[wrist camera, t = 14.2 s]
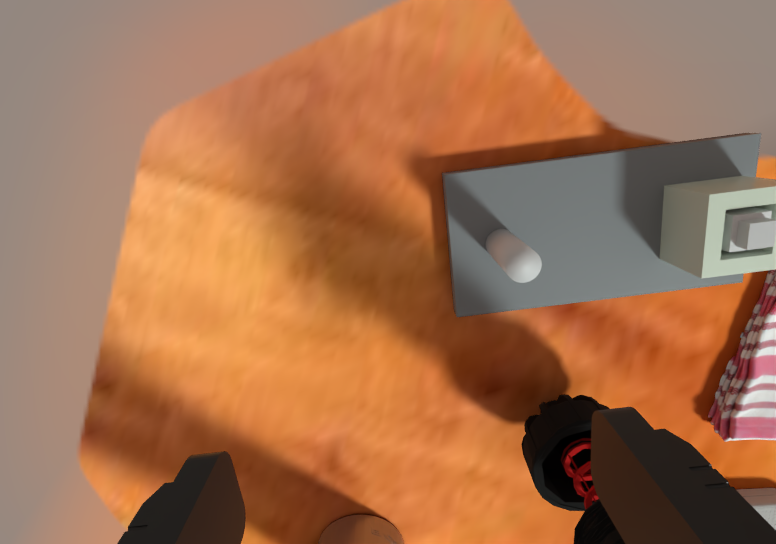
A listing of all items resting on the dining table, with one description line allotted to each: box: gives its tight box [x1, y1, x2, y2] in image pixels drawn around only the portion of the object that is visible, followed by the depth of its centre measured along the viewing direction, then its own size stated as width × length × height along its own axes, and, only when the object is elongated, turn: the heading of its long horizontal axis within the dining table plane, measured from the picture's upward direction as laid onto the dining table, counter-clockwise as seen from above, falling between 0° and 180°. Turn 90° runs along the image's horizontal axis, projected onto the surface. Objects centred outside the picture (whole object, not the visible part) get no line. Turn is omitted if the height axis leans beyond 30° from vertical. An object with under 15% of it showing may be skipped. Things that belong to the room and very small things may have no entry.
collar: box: [660, 176, 776, 279], centre depth 33 cm, size 6×6×5 cm
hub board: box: [442, 133, 776, 317], centre depth 33 cm, size 24×12×8 cm, turn 97°
